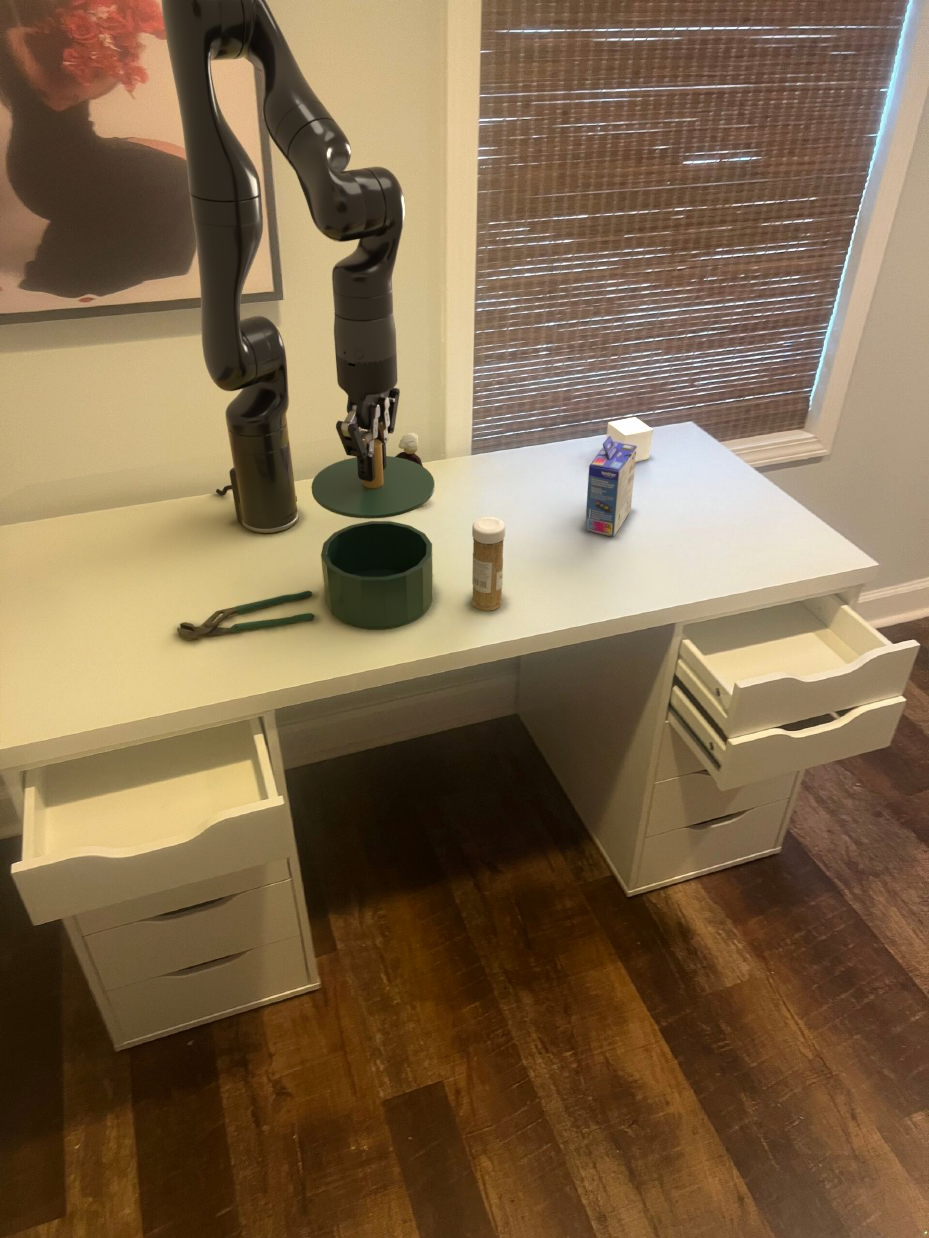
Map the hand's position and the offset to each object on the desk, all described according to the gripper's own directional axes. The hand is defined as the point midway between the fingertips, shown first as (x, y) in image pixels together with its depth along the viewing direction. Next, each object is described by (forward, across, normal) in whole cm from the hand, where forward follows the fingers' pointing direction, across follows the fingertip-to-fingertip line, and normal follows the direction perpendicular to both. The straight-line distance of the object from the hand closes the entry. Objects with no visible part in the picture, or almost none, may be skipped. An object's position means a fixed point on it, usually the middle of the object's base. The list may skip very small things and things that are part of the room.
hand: (372, 473), depth 122 cm
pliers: (+21, +12, -15) cm, 28 cm away
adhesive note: (+21, -60, +22) cm, 67 cm away
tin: (+21, 0, 0) cm, 21 cm away
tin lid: (+2, 0, 0) cm, 2 cm away
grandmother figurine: (+21, -28, -8) cm, 36 cm away
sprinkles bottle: (+21, -5, +15) cm, 26 cm away
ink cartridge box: (+21, -35, +25) cm, 48 cm away
